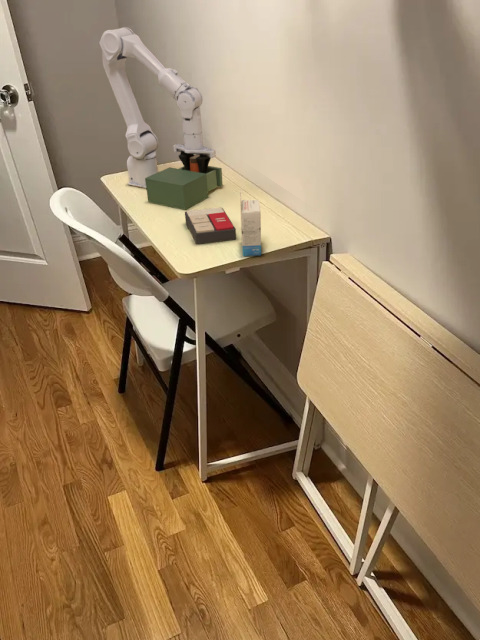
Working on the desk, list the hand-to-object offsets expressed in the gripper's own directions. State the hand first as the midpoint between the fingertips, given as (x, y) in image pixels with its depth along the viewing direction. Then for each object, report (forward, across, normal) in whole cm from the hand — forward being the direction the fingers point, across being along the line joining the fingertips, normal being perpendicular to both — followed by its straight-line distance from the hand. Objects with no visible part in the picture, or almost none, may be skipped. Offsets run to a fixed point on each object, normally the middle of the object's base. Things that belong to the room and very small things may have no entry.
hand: (196, 177), depth 182 cm
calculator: (+4, +22, -27) cm, 35 cm away
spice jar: (+2, 0, 0) cm, 2 cm away
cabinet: (+4, 0, -10) cm, 11 cm away
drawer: (+3, 0, +1) cm, 3 cm away
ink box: (+4, +38, -32) cm, 50 cm away
